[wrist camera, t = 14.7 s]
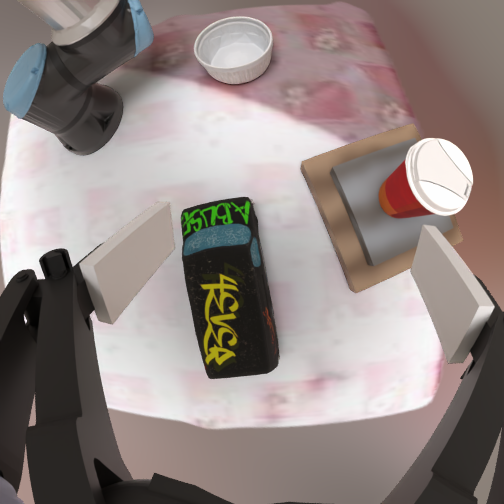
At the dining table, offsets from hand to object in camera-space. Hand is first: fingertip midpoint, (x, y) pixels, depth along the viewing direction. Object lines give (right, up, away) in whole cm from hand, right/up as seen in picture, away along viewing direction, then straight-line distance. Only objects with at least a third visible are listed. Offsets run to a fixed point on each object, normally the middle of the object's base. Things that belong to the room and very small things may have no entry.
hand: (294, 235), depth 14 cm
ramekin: (-4, +34, +31) cm, 46 cm away
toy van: (-5, -6, +31) cm, 32 cm away
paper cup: (+17, +6, +21) cm, 28 cm away
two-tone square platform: (+18, +6, +28) cm, 34 cm away
